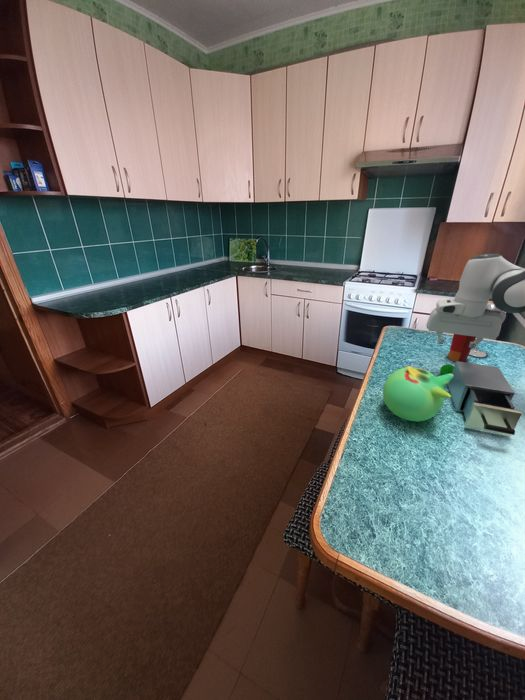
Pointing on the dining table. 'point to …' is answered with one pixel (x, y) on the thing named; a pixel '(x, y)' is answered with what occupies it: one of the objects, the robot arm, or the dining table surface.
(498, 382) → the grey drawer cabinet
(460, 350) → the coffee cup
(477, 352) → the wineglass
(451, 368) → the polyhedron
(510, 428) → the drawer
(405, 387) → the toy bird
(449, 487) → the dining table surface
